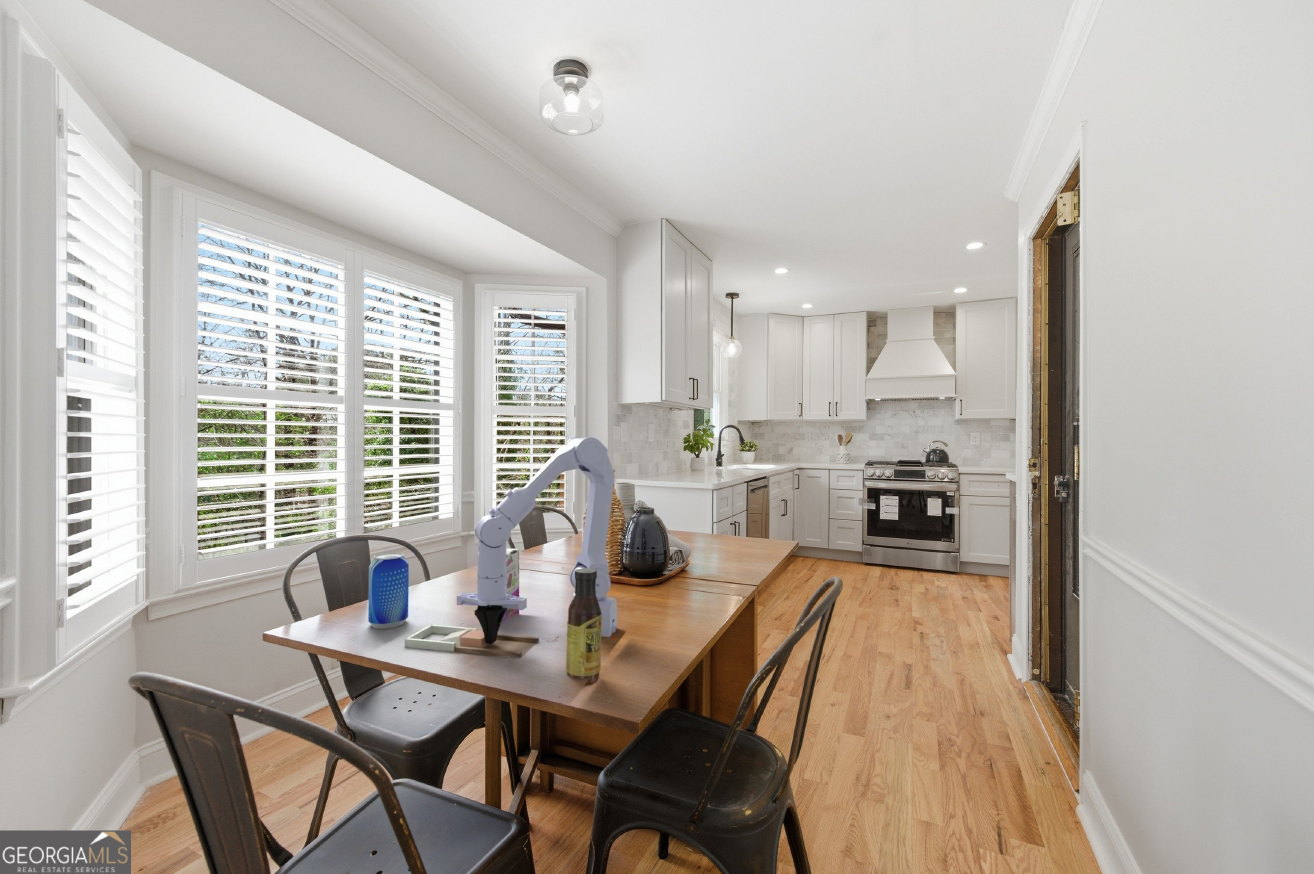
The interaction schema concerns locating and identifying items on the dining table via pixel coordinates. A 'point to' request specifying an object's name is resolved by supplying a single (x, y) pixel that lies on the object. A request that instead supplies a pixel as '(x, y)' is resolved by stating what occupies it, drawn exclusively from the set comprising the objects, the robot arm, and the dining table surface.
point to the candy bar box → (512, 577)
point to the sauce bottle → (584, 629)
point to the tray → (418, 642)
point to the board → (503, 646)
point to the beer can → (388, 590)
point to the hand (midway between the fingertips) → (491, 641)
